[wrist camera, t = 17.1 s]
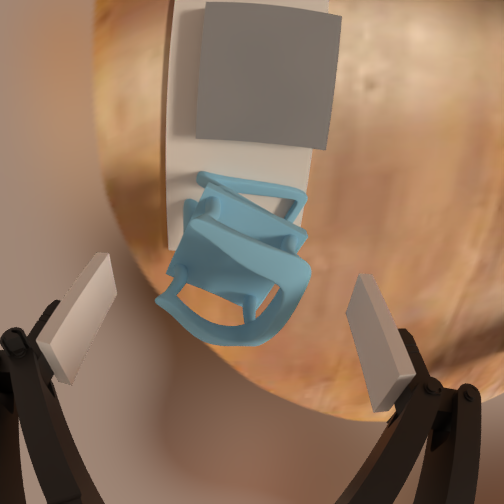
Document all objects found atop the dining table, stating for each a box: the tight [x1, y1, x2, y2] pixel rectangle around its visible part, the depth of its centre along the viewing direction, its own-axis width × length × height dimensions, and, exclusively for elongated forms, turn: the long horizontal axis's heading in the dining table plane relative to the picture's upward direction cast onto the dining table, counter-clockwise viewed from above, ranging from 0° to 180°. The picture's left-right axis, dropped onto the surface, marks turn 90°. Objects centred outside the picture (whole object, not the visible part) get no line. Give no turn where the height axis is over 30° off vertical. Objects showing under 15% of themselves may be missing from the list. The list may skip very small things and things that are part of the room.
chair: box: [155, 171, 311, 346], centre depth 19 cm, size 8×8×12 cm
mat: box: [166, 0, 329, 251], centre depth 21 cm, size 22×11×1 cm, turn 175°
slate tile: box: [195, 2, 342, 150], centre depth 18 cm, size 10×2×9 cm
